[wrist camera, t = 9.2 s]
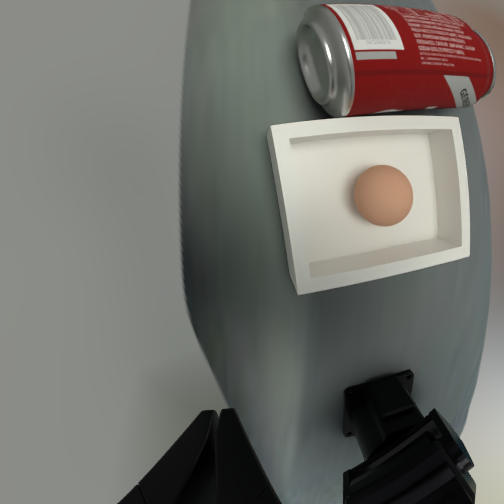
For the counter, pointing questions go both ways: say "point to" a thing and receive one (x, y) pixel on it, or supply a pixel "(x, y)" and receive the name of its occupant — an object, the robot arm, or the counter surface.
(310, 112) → the counter surface
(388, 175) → the ball
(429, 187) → the bin
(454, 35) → the soda can
